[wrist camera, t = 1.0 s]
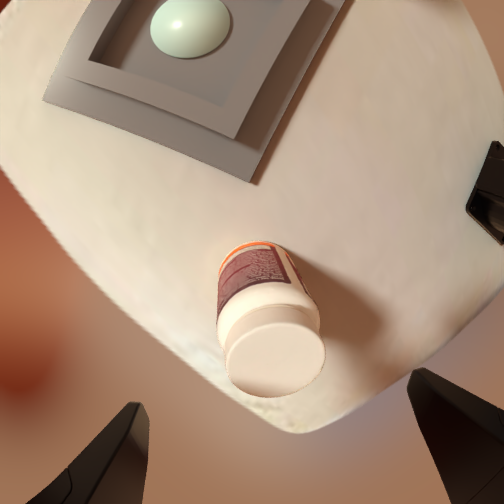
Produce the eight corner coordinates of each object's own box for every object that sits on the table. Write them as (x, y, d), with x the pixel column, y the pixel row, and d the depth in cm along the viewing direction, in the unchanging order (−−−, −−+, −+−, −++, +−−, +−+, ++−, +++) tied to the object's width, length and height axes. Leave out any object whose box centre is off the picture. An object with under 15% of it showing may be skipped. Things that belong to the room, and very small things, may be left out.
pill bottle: (205, 290, 19) (195, 384, 12) (241, 225, 18) (253, 293, 10) (269, 319, 21) (292, 414, 13) (308, 260, 19) (358, 339, 11)
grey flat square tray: (347, -6, 13) (359, -18, 11) (248, 181, 17) (250, 186, 15) (150, -72, 10) (145, -86, 8) (45, 101, 14) (28, 98, 12)
